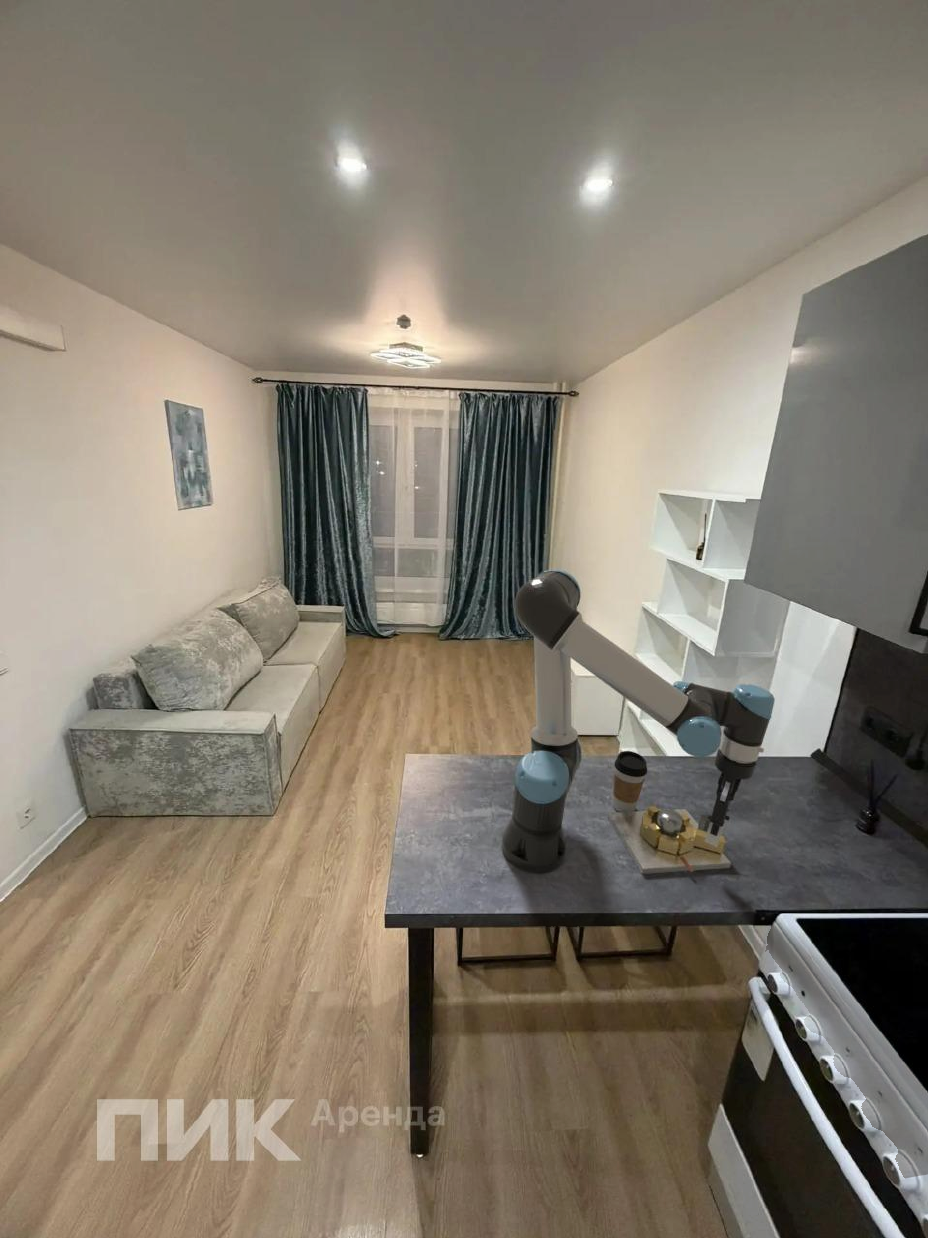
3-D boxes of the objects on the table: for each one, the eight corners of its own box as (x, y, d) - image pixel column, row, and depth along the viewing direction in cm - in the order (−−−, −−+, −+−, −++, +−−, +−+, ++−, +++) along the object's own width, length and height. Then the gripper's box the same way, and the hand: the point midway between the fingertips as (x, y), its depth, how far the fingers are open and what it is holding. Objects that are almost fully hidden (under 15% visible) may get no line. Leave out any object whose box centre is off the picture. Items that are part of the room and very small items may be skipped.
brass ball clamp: (640, 844, 120) (643, 830, 119) (641, 814, 131) (644, 800, 130) (724, 868, 115) (728, 853, 113) (718, 834, 125) (722, 820, 124)
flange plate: (645, 880, 112) (651, 852, 110) (607, 817, 132) (611, 793, 129) (735, 873, 116) (743, 847, 113) (685, 813, 135) (691, 790, 133)
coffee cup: (635, 798, 140) (644, 752, 136) (643, 819, 132) (652, 770, 128) (605, 795, 141) (613, 748, 136) (610, 815, 133) (619, 766, 128)
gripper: (752, 775, 101) (723, 868, 108) (760, 749, 111) (734, 835, 118) (712, 760, 105) (687, 850, 112) (724, 736, 115) (700, 820, 122)
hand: (711, 842), depth 115 cm, fingers closed
